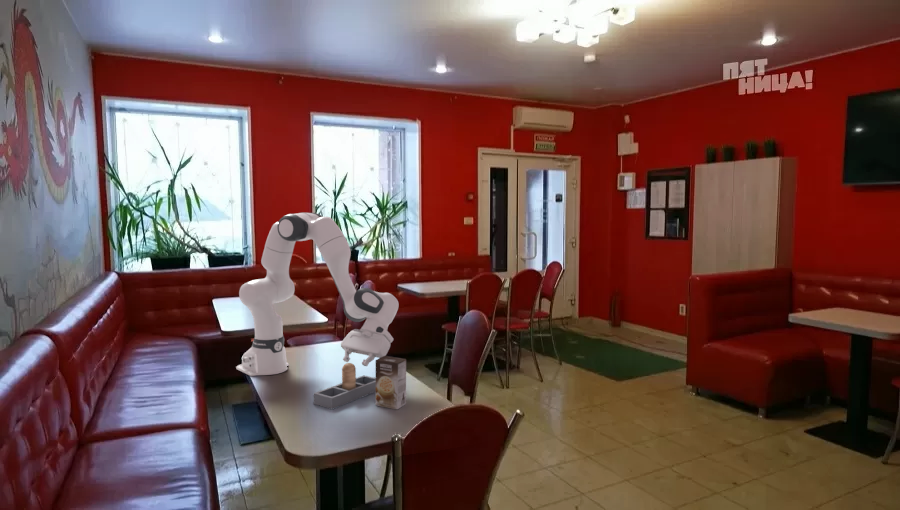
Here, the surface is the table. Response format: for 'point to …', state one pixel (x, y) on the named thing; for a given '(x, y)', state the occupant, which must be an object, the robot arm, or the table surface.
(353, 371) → the tan domed cylinder
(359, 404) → the table surface
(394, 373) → the coffee box
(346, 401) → the grey compartment tray
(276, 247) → the robot arm
